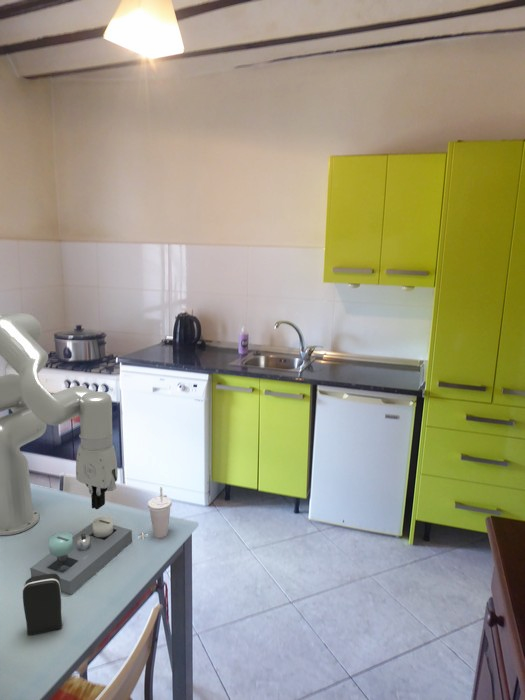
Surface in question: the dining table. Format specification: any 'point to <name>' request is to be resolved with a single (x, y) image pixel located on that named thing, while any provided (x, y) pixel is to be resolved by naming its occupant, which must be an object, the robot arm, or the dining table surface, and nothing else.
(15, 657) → the dining table surface
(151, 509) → the smoothie
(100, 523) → the knob
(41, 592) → the black rounded upright block
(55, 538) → the knob
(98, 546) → the mount
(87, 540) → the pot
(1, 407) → the robot arm
